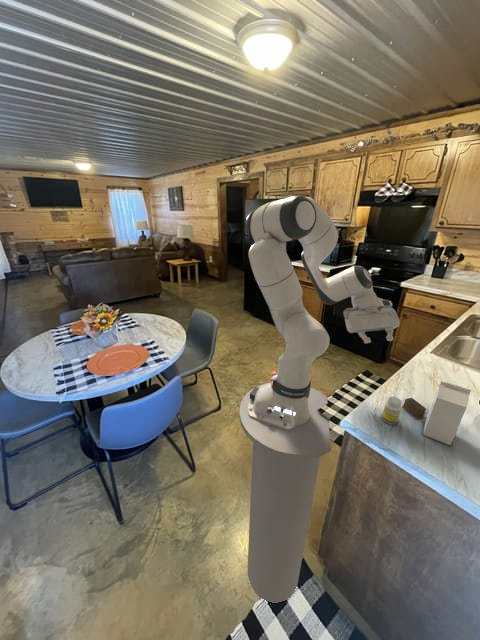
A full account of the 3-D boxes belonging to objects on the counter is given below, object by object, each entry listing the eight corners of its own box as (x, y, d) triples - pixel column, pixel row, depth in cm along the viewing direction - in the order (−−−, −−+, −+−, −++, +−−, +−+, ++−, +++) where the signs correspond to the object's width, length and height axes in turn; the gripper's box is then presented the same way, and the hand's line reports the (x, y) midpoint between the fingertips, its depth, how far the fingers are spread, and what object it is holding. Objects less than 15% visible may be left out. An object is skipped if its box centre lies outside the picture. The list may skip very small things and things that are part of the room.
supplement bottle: (386, 413, 94) (391, 393, 91) (399, 421, 91) (406, 401, 87) (379, 418, 92) (384, 398, 88) (392, 426, 88) (398, 406, 85)
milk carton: (450, 446, 81) (471, 396, 74) (423, 434, 85) (440, 386, 78) (450, 432, 86) (470, 384, 79) (424, 422, 90) (441, 375, 83)
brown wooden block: (423, 417, 92) (426, 408, 91) (416, 419, 92) (419, 410, 90) (409, 406, 98) (412, 397, 96) (402, 407, 97) (405, 398, 95)
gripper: (346, 304, 93) (359, 341, 88) (395, 301, 97) (409, 336, 92) (337, 312, 99) (348, 347, 94) (383, 308, 103) (397, 341, 98)
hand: (379, 341), depth 93 cm, fingers open, 8 cm apart
